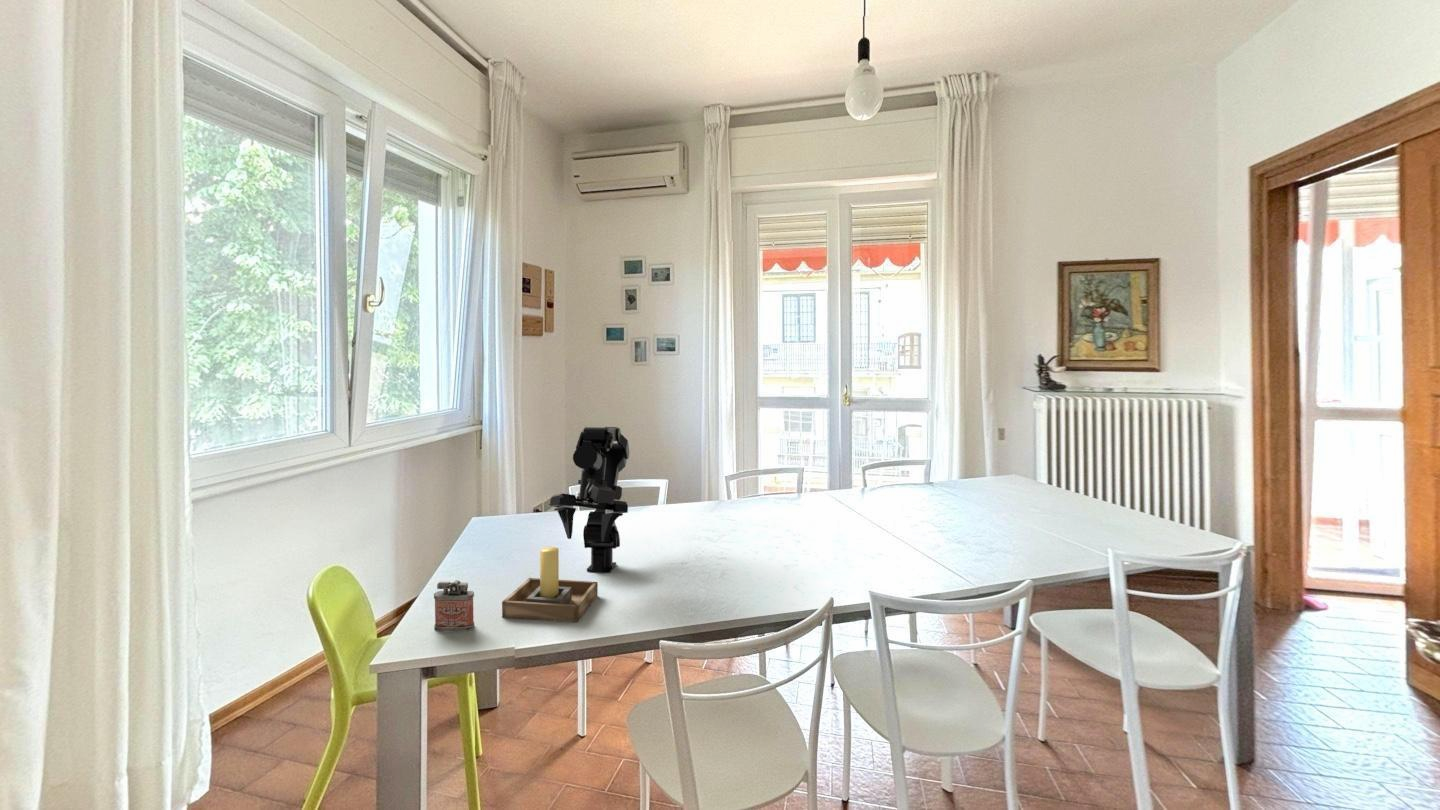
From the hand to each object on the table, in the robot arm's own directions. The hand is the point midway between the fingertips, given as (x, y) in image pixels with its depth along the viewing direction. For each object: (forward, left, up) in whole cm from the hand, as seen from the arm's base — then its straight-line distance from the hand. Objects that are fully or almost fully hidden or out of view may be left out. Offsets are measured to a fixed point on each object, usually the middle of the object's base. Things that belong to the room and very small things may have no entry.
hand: (586, 540), depth 140 cm
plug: (+10, -5, -12) cm, 17 cm away
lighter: (+22, -21, -13) cm, 33 cm away
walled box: (+9, -5, -13) cm, 17 cm away
